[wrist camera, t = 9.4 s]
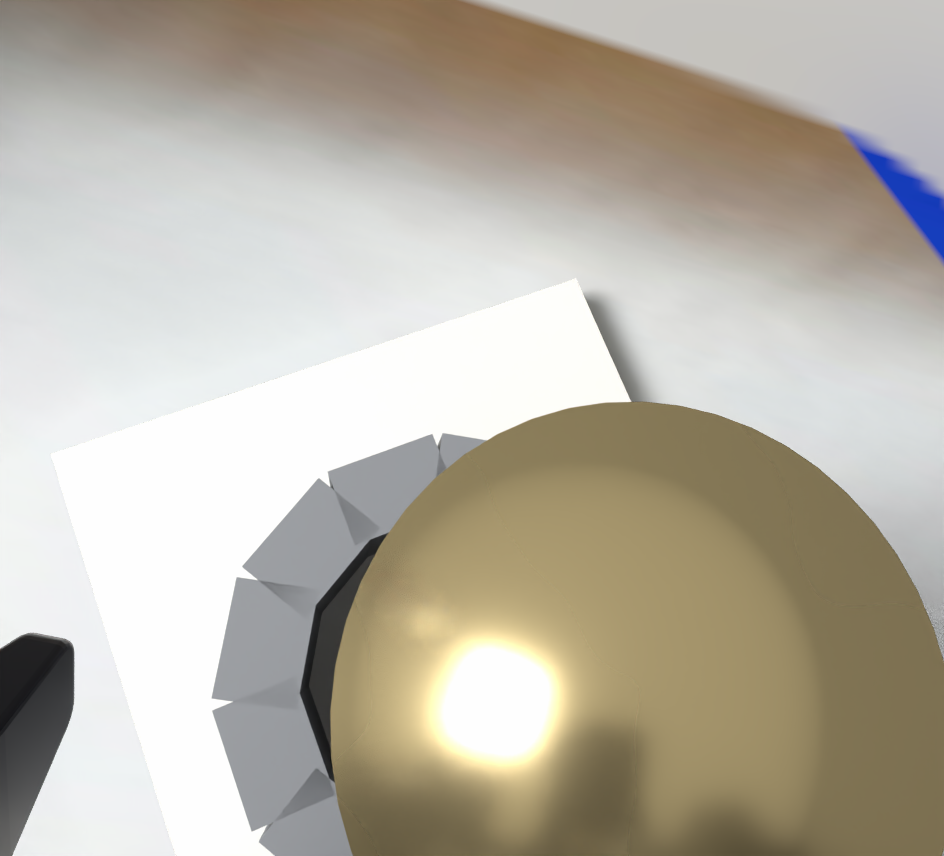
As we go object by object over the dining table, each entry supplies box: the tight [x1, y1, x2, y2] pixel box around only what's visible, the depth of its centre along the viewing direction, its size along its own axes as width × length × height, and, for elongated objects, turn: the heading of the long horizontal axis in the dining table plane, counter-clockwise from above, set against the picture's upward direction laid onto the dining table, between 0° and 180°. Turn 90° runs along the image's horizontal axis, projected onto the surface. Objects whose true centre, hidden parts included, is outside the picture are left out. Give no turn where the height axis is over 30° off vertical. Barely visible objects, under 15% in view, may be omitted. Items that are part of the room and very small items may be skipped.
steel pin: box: [330, 402, 944, 856], centre depth 12 cm, size 4×4×13 cm
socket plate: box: [51, 279, 631, 856], centre depth 17 cm, size 14×12×4 cm
